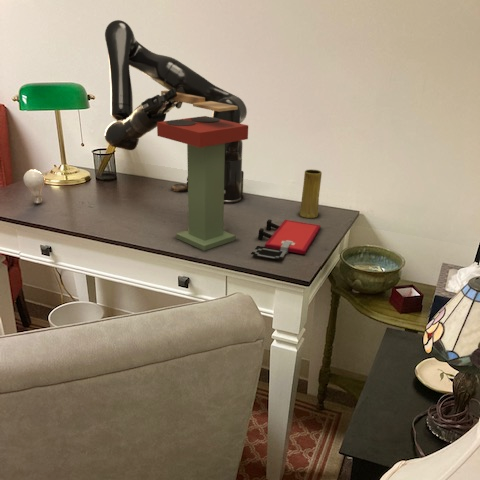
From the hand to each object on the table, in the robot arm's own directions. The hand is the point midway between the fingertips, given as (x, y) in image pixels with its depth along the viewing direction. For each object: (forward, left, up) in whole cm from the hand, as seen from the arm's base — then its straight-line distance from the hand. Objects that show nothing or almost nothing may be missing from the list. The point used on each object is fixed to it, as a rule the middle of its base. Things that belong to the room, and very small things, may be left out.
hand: (179, 91), depth 142 cm
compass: (-21, -26, -38) cm, 51 cm away
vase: (-36, +21, -38) cm, 56 cm away
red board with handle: (-12, +31, -38) cm, 50 cm away
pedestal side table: (+2, +12, -37) cm, 39 cm away
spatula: (0, +6, -2) cm, 7 cm away
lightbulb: (+25, -44, -38) cm, 63 cm away
